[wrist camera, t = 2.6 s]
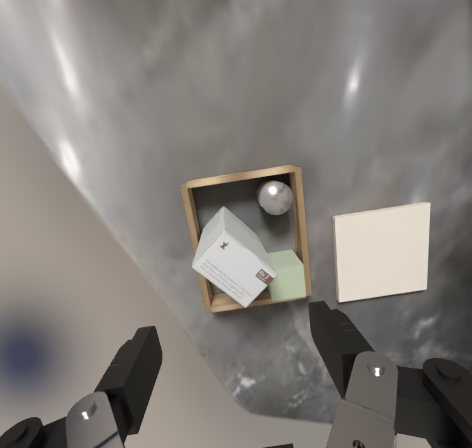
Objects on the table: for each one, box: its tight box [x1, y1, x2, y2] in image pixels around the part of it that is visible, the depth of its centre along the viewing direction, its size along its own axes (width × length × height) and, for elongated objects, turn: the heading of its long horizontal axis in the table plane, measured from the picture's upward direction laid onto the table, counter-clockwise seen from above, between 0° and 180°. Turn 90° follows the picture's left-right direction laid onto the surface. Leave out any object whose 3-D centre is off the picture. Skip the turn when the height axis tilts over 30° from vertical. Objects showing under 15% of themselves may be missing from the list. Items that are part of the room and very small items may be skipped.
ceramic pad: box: [332, 202, 430, 302], centre depth 32 cm, size 12×12×1 cm
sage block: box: [267, 250, 306, 302], centre depth 30 cm, size 4×4×5 cm
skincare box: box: [192, 206, 277, 308], centre depth 25 cm, size 6×4×12 cm
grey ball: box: [256, 180, 293, 215], centre depth 28 cm, size 4×4×4 cm
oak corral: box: [180, 165, 312, 312], centre depth 30 cm, size 13×16×3 cm
